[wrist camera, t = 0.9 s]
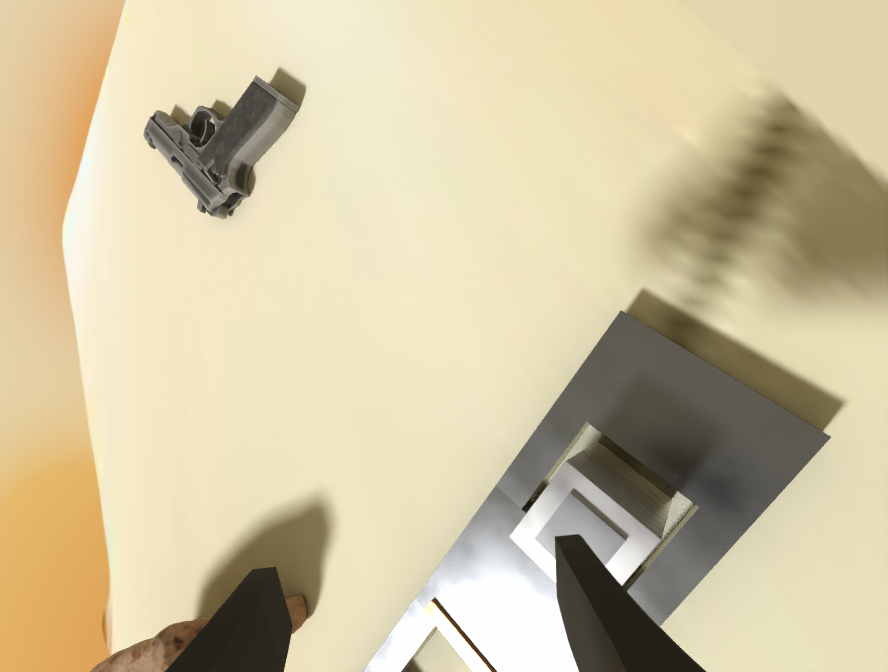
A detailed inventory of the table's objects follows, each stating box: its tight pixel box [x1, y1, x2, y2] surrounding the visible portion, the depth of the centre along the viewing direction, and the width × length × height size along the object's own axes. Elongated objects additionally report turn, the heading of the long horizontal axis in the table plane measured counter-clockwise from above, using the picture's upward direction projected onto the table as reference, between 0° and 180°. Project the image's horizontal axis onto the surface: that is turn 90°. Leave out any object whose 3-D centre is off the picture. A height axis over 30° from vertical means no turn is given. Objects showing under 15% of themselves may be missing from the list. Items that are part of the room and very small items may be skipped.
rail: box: [363, 311, 831, 672], centre depth 23 cm, size 9×30×2 cm, turn 142°
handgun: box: [144, 76, 300, 219], centre depth 40 cm, size 2×17×12 cm
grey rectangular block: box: [510, 442, 672, 586], centre depth 19 cm, size 4×4×6 cm
